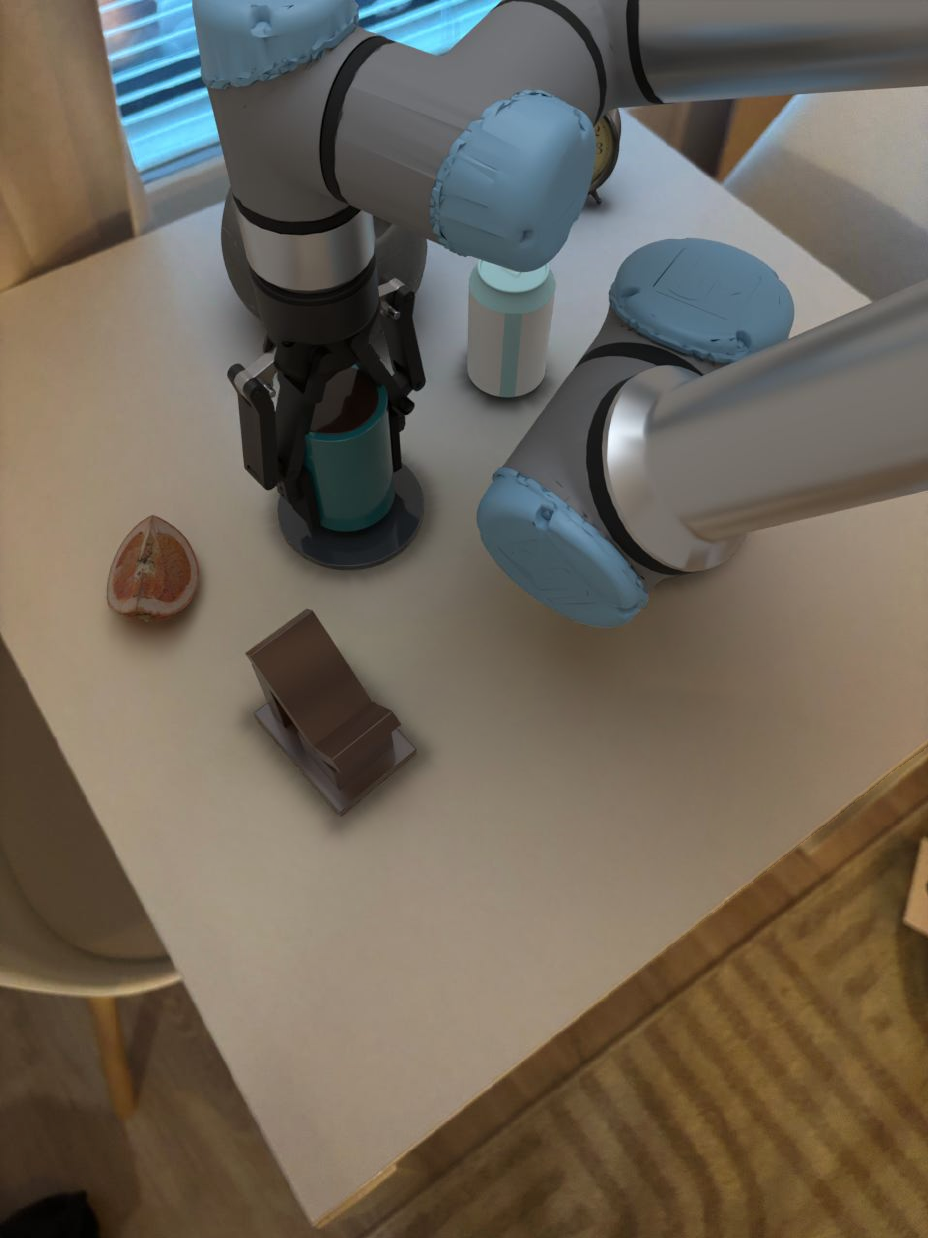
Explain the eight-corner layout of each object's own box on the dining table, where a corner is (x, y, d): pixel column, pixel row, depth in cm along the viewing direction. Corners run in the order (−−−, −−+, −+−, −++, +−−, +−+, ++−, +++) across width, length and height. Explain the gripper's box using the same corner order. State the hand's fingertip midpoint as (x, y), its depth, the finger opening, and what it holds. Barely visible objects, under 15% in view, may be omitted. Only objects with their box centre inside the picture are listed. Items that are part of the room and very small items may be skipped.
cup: (228, 404, 73) (282, 389, 62) (306, 356, 76) (371, 333, 64) (316, 544, 78) (381, 554, 67) (386, 495, 81) (460, 496, 69)
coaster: (409, 441, 81) (409, 436, 81) (437, 556, 76) (436, 551, 75) (270, 463, 80) (269, 459, 80) (288, 582, 74) (286, 578, 74)
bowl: (372, 222, 95) (361, 100, 84) (464, 334, 88) (466, 218, 76) (208, 285, 90) (174, 165, 79) (291, 409, 83) (266, 296, 72)
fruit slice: (194, 641, 72) (177, 609, 67) (105, 640, 72) (83, 608, 67) (209, 549, 76) (194, 513, 71) (125, 548, 76) (105, 512, 71)
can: (468, 342, 87) (470, 233, 77) (544, 345, 87) (557, 236, 77) (465, 401, 84) (467, 295, 73) (544, 403, 84) (558, 298, 73)
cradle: (254, 717, 69) (224, 651, 60) (330, 660, 71) (312, 587, 62) (340, 816, 65) (322, 763, 56) (417, 753, 68) (411, 691, 58)
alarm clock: (501, 204, 96) (510, 42, 82) (508, 170, 99) (518, 8, 85) (608, 217, 96) (635, 56, 82) (612, 182, 98) (640, 21, 84)
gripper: (402, 149, 60) (414, 396, 80) (126, 301, 53) (214, 529, 73) (482, 208, 58) (473, 448, 78) (203, 376, 51) (272, 591, 71)
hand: (347, 487), depth 75 cm, fingers closed on cup, 8 cm apart
